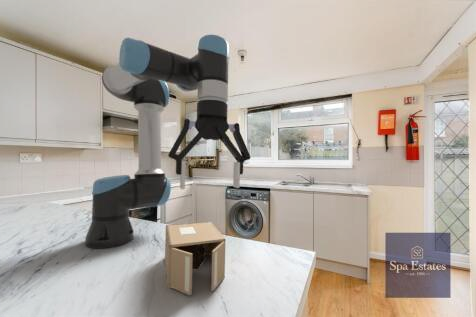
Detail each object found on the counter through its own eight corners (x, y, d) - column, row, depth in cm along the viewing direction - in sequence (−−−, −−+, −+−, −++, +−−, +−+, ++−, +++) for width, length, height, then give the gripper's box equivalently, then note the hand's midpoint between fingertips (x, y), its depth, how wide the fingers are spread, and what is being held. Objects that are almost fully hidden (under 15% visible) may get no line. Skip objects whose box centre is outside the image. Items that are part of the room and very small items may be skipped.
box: (196, 270, 59) (197, 243, 59) (176, 268, 61) (177, 241, 61) (204, 260, 65) (205, 236, 65) (186, 258, 67) (186, 234, 67)
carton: (164, 258, 66) (165, 225, 66) (210, 252, 71) (210, 221, 71) (167, 287, 51) (168, 244, 51) (224, 277, 56) (225, 238, 56)
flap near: (171, 286, 51) (172, 247, 51) (191, 294, 48) (192, 253, 48) (170, 287, 50) (170, 248, 51) (189, 295, 48) (190, 254, 48)
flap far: (211, 290, 50) (212, 251, 50) (221, 277, 55) (222, 241, 55) (213, 291, 49) (214, 251, 49) (224, 277, 55) (224, 242, 55)
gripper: (252, 110, 62) (250, 185, 62) (159, 100, 53) (156, 187, 53) (264, 104, 55) (262, 188, 55) (159, 91, 46) (156, 191, 46)
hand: (210, 188), depth 54 cm, fingers open, 13 cm apart
